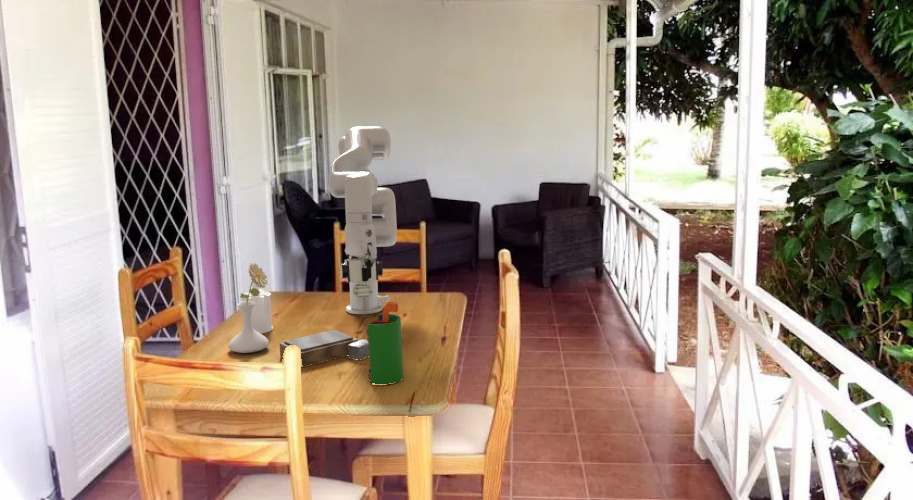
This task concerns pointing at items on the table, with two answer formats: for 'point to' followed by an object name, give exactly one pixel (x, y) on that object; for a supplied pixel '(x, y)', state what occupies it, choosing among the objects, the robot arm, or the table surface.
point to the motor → (385, 347)
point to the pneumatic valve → (360, 275)
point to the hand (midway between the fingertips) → (361, 278)
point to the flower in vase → (248, 336)
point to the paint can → (260, 310)
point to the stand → (320, 346)
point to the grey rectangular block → (358, 349)
